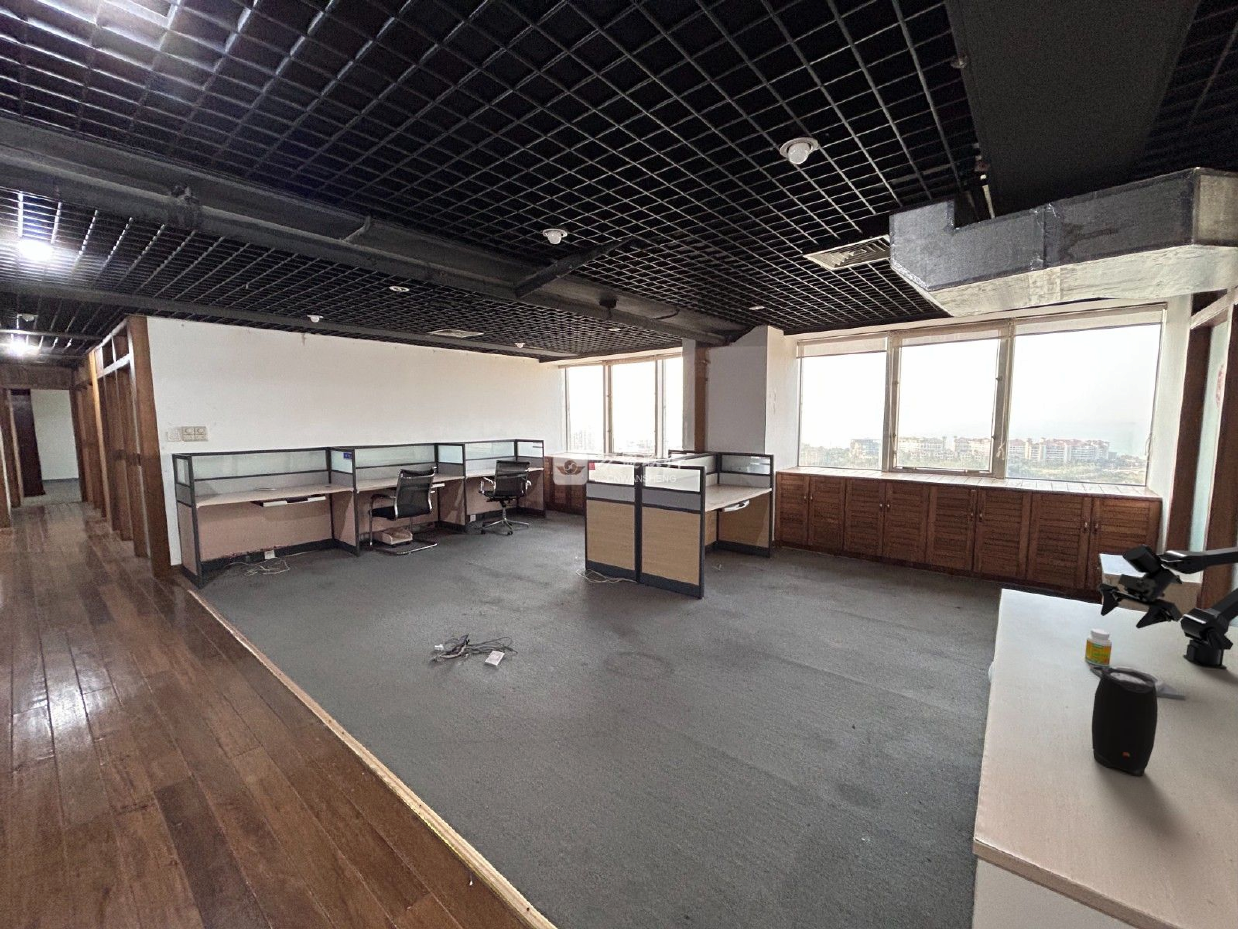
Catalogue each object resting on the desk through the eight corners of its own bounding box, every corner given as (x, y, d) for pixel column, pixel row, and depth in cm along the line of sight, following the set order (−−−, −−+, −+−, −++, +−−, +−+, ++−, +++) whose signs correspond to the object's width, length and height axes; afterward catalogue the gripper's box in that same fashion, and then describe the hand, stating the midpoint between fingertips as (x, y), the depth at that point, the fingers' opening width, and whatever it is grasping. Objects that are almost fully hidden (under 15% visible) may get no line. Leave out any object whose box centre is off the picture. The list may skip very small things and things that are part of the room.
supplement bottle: (1088, 664, 149) (1091, 632, 148) (1081, 656, 154) (1085, 626, 153) (1112, 668, 146) (1116, 636, 146) (1105, 661, 151) (1108, 630, 150)
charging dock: (1149, 676, 142) (1150, 668, 142) (1184, 699, 130) (1186, 690, 130) (1090, 669, 146) (1091, 661, 145) (1119, 691, 134) (1120, 682, 134)
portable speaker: (1143, 785, 99) (1154, 691, 97) (1081, 758, 107) (1091, 670, 105) (1155, 769, 104) (1166, 679, 102) (1095, 744, 112) (1104, 660, 110)
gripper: (1104, 557, 159) (1072, 592, 158) (1179, 576, 140) (1142, 615, 139) (1122, 580, 161) (1090, 615, 160) (1198, 602, 142) (1162, 641, 141)
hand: (1118, 621), depth 150 cm, fingers open, 9 cm apart
